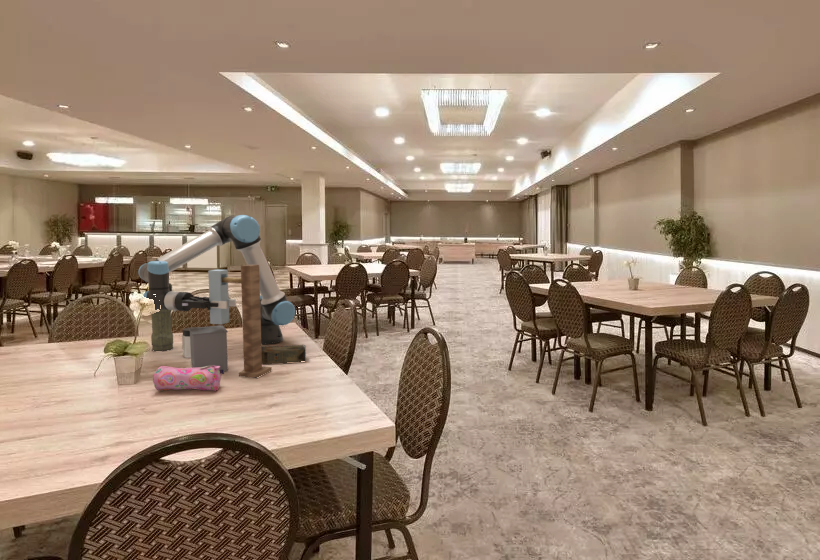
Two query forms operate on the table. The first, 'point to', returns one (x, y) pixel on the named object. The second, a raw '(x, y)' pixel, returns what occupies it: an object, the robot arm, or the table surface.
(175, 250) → the robot arm
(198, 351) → the lidded box
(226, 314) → the grey tall block
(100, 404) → the table surface
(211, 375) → the pencil case
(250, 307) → the walnut stand
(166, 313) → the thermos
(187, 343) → the jar
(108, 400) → the table surface
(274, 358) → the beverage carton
